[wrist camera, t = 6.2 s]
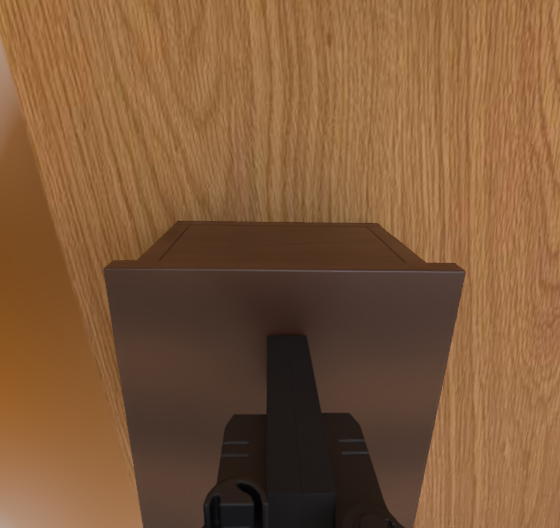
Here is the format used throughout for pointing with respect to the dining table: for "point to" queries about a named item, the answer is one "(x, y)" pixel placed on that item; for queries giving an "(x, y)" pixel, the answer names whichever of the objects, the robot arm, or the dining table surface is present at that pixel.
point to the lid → (253, 363)
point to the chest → (279, 243)
